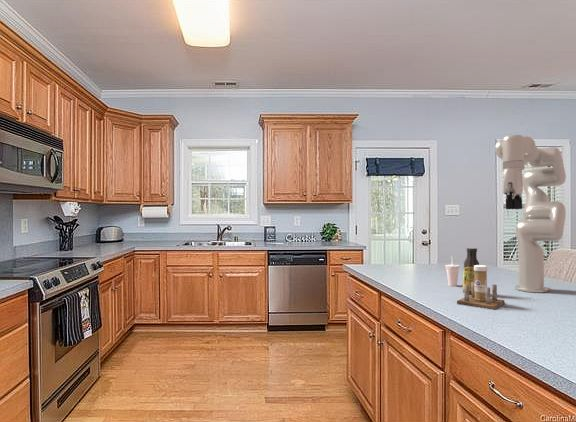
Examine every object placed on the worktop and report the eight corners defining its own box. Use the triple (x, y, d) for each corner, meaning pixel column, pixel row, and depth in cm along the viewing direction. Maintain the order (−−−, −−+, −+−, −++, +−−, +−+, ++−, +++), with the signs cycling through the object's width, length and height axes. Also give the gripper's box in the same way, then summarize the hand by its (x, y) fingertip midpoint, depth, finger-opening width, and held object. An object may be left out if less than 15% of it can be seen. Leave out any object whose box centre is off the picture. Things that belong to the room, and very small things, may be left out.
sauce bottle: (462, 294, 163) (461, 248, 163) (463, 291, 169) (462, 246, 169) (479, 295, 160) (478, 248, 160) (479, 293, 166) (479, 247, 166)
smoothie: (459, 284, 185) (458, 255, 185) (460, 287, 179) (460, 257, 179) (445, 284, 187) (444, 255, 187) (446, 286, 181) (445, 257, 181)
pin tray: (469, 298, 156) (469, 280, 156) (504, 303, 147) (504, 284, 147) (456, 304, 147) (456, 285, 147) (493, 309, 137) (493, 289, 138)
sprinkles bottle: (473, 300, 147) (472, 265, 147) (476, 298, 150) (475, 264, 150) (486, 302, 144) (485, 266, 144) (489, 300, 147) (488, 265, 147)
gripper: (509, 168, 161) (510, 209, 161) (496, 165, 149) (497, 209, 149) (529, 167, 156) (530, 208, 156) (518, 163, 144) (518, 209, 144)
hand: (514, 209), depth 153 cm, fingers open, 9 cm apart
